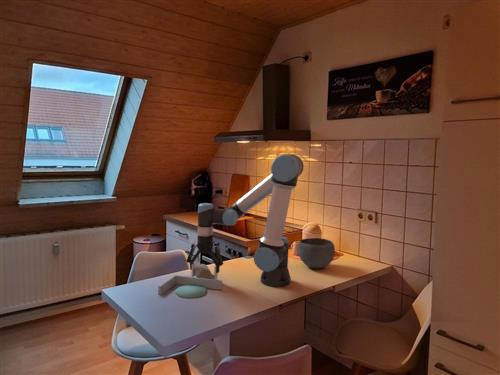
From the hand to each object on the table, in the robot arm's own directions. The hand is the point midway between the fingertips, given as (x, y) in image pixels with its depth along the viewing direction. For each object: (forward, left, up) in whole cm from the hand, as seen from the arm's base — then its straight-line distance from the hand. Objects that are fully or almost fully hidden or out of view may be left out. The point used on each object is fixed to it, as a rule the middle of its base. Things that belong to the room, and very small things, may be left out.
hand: (204, 277), depth 189 cm
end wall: (+12, +16, -2) cm, 20 cm away
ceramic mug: (0, -1, -2) cm, 2 cm away
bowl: (-51, -43, -2) cm, 67 cm away
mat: (0, +16, -2) cm, 16 cm away
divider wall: (0, +8, -2) cm, 8 cm away
